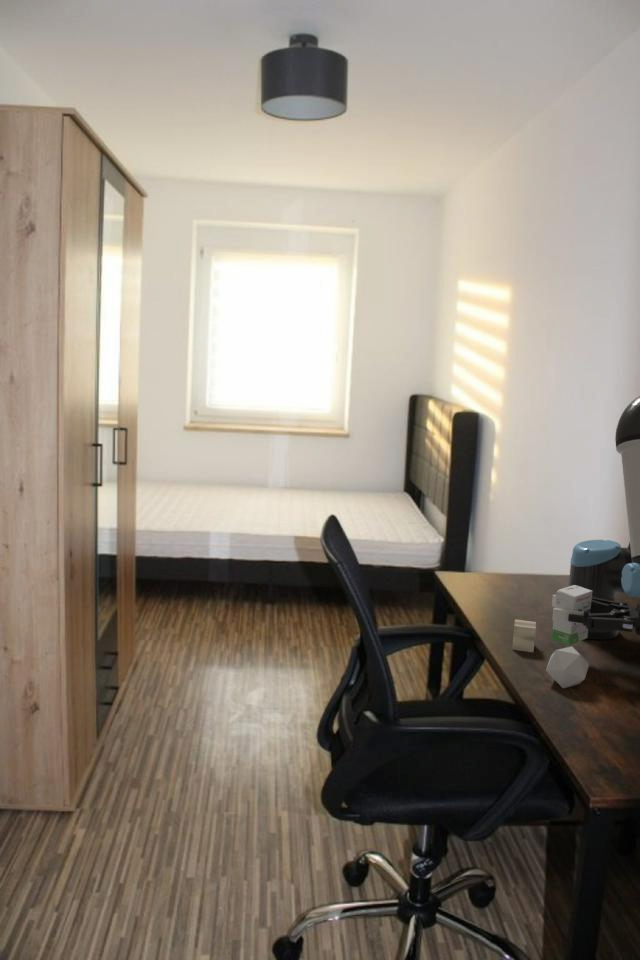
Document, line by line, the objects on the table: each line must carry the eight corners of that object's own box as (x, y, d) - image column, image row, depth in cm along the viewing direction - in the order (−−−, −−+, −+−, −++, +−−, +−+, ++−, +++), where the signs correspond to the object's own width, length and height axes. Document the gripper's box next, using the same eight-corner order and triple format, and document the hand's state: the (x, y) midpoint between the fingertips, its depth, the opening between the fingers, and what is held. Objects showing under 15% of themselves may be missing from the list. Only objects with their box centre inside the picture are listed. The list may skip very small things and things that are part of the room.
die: (565, 676, 186) (543, 642, 185) (600, 667, 181) (577, 633, 179) (557, 700, 180) (534, 666, 178) (593, 692, 175) (569, 657, 173)
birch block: (512, 642, 204) (515, 619, 203) (533, 645, 203) (536, 622, 202) (512, 649, 199) (514, 625, 198) (533, 652, 198) (535, 628, 197)
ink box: (569, 646, 188) (575, 596, 186) (550, 639, 192) (555, 590, 189) (588, 637, 194) (594, 589, 192) (569, 631, 198) (574, 583, 195)
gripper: (659, 653, 177) (551, 639, 183) (647, 620, 198) (550, 607, 204) (664, 620, 176) (555, 606, 181) (651, 590, 197) (553, 578, 202)
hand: (552, 607), depth 193 cm, fingers closed on ink box, 9 cm apart
